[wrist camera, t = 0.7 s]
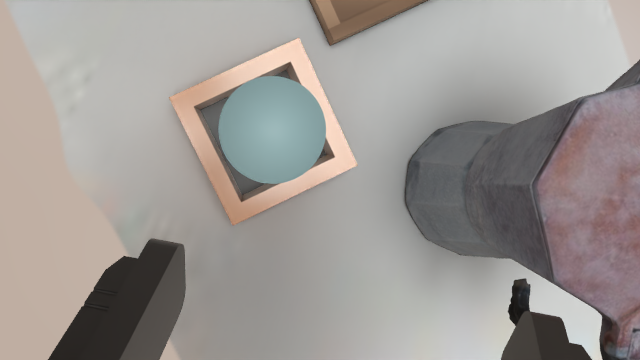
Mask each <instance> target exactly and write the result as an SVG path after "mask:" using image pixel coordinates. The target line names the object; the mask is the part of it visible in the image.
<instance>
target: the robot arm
mask: <svg viewBox="0 0 640 360" xmlns="http://www.w3.org/2000/svg"><path fill="white" fill-rule="evenodd" d="M185 287H186V286H185V252H184V246H183V244H179V243H173V242H168V241H163V240H158V239H150V240H149V241H148V242H147V244H146V246H145V247H144V249H143V251H142V252H141V254H140V256H139V258H138V259H137V258H132V257H126V256H124V257H122V258H121V259H120V260H118V261H117V262H116V263H114V264H113V265H112V266H110V267H109V268H108V269H106V270H105V272H104V273H103V275H102V276H101V278H100V279H99V281H98V282H97V284H96V286H95V287H94V290H93V292H91V294H90V295H89V297H88V298H87V300H86V301H85V304H84V306H83V307H81V309H80V310H79V312H78V314H77V315H76V317H75V318H74V320H73V322H72V323H71V325H70V326H69V328H68V329H67V331H66V332H65V334H64V335H63V337H62V339H61V340H60V342H59V343H58V345H57V346H56V348H55V350H54V351H53V353H52V354H51V356H50V357H49V359H48V360H159V359H160V357H161V354H162V352H163V350H164V348H165V346H166V344H167V341H168V339H169V337H170V335H171V332H172V330H173V328H174V326H175V323H176V321H177V319H178V317H179V314H180V312H181V309H182V306H183V302H184V297H185ZM501 360H592V359H591V358H590V356H589V355H588V353H587V352H586V351H585V349H584V348H583V347H582V345H578V344H573V343H569V340H568V337H567V333H566V329H565V326H564V323H563V321H562V319H561V318H560V317H556V316H551V315H546V314H540V313H535V312H530V311H525V312H524V313H523V314H522V316H521V318H520V319H519V321H518V323H517V325H516V327H515V329H514V331H513V333H512V335H511V337H510V339H509V341H508V343H507V345H506V347H505V349H504V351H503V354H502V358H501Z"/></svg>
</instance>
